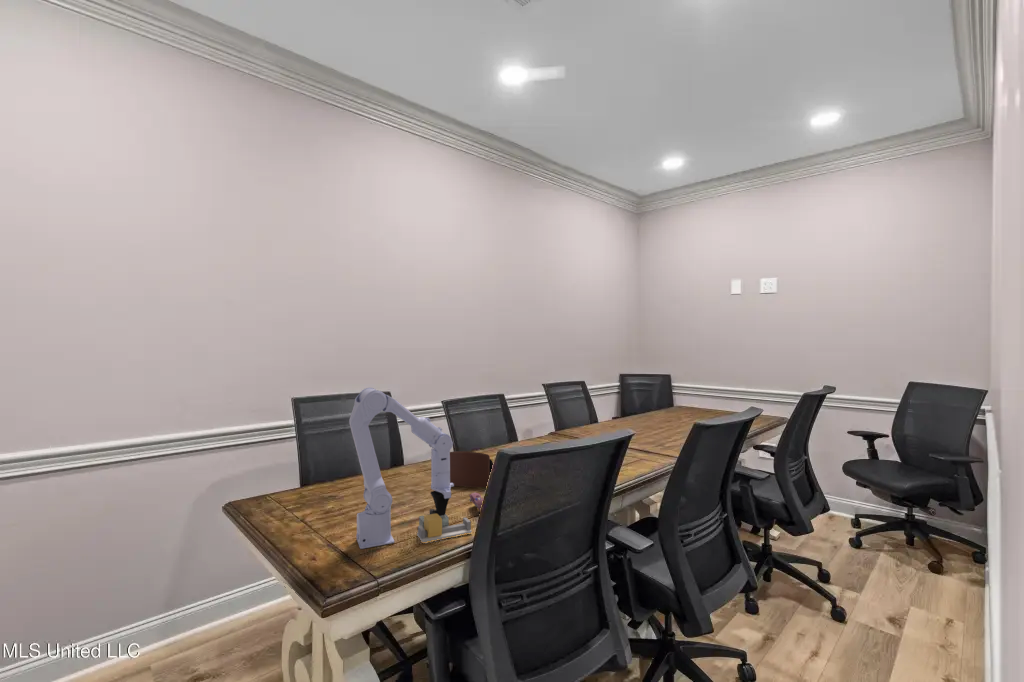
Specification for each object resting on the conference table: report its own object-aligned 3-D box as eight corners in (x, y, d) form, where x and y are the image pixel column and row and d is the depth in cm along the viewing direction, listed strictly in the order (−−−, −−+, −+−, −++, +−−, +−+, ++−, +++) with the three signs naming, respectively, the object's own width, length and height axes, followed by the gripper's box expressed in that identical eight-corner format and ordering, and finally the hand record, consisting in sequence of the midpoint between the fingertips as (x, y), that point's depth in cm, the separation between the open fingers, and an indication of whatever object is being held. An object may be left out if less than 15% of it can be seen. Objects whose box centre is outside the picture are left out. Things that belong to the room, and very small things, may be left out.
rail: (422, 544, 134) (422, 532, 134) (417, 536, 139) (417, 524, 139) (471, 534, 140) (471, 522, 140) (465, 527, 146) (465, 516, 146)
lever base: (423, 531, 142) (423, 520, 142) (419, 525, 147) (419, 515, 147) (448, 526, 146) (448, 516, 146) (443, 521, 150) (443, 511, 150)
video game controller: (473, 509, 165) (465, 493, 164) (484, 502, 166) (476, 486, 165) (482, 519, 156) (473, 502, 155) (494, 512, 157) (485, 494, 156)
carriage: (428, 537, 135) (428, 521, 135) (424, 531, 140) (424, 515, 140) (442, 535, 137) (442, 518, 137) (437, 529, 141) (437, 513, 141)
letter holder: (489, 488, 184) (489, 452, 184) (441, 486, 188) (441, 450, 188) (495, 481, 194) (495, 447, 194) (450, 478, 198) (449, 445, 198)
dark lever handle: (430, 516, 145) (430, 511, 145) (429, 514, 147) (428, 509, 147) (445, 513, 147) (445, 508, 147) (444, 512, 149) (444, 507, 149)
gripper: (460, 475, 141) (461, 520, 141) (446, 464, 154) (446, 505, 154) (437, 478, 138) (438, 524, 138) (424, 466, 151) (425, 508, 151)
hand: (441, 514), depth 146 cm, fingers closed
